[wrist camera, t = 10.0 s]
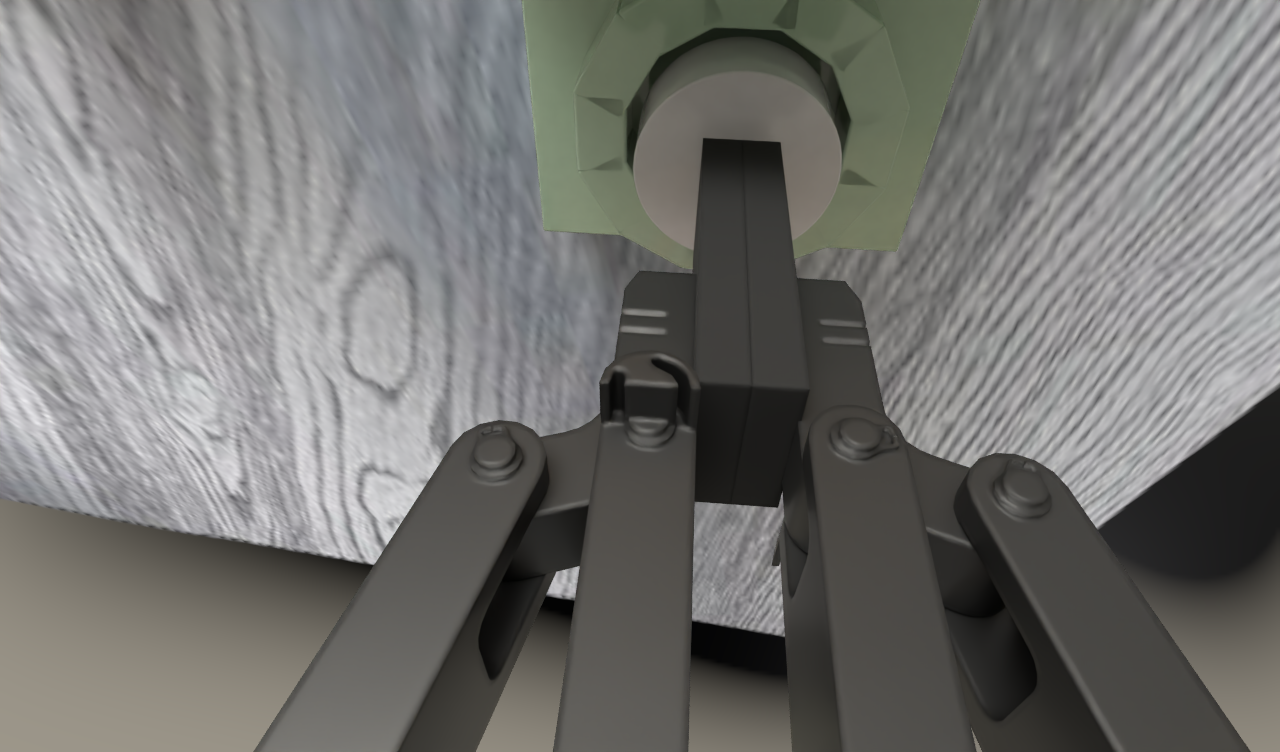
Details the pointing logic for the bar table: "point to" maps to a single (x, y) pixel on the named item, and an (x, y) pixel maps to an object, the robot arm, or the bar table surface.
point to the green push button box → (739, 7)
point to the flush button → (735, 129)
